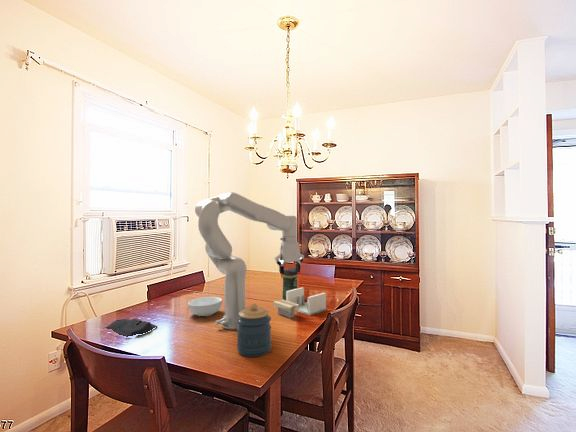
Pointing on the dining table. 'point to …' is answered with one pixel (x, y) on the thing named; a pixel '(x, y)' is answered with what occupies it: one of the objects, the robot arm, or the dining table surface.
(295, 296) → the peg stand
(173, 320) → the dining table surface
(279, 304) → the board
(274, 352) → the dining table surface
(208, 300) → the cereal bowl
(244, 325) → the canister
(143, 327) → the dark slate chunk
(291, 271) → the coffee jar
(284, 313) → the block
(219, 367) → the dining table surface
